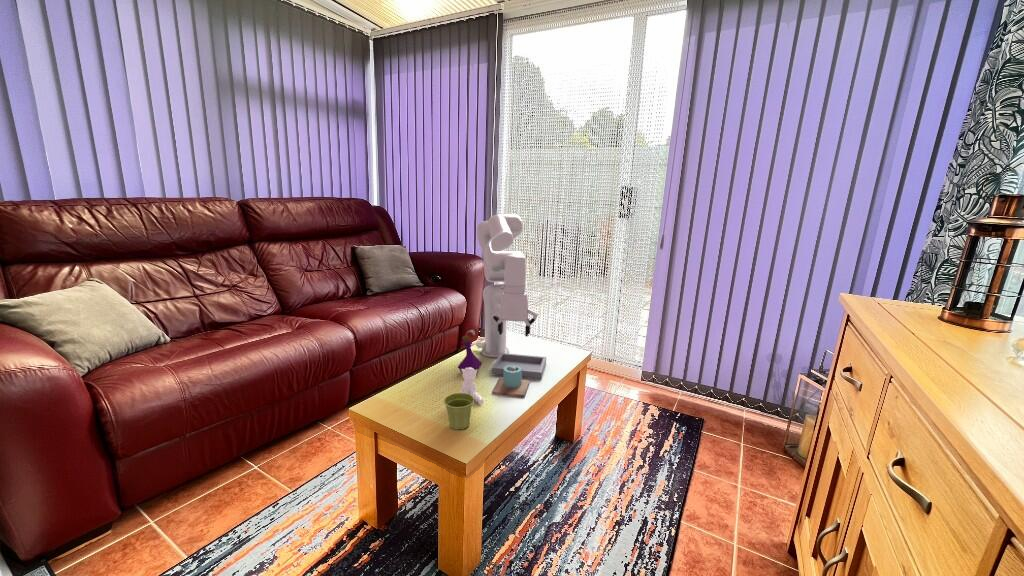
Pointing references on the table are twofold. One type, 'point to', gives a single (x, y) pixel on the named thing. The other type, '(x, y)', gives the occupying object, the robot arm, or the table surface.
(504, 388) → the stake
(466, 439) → the table surface
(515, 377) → the ring
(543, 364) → the tray
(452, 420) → the plant pot
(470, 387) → the seated beast figurine
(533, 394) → the table surface
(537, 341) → the table surface
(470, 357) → the perfume bottle
